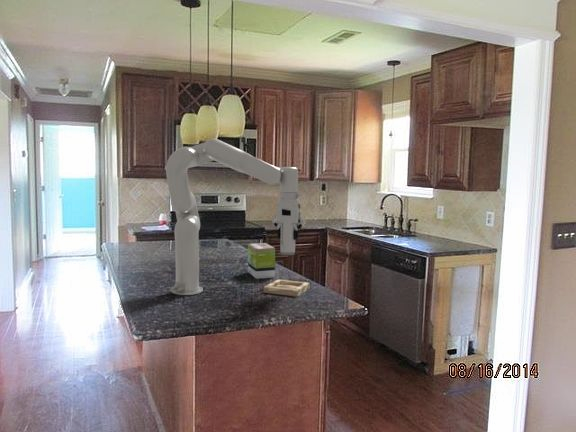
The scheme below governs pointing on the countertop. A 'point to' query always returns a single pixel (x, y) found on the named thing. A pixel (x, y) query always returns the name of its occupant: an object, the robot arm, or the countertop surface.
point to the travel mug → (287, 234)
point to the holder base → (287, 287)
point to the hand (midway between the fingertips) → (288, 238)
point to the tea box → (261, 260)
